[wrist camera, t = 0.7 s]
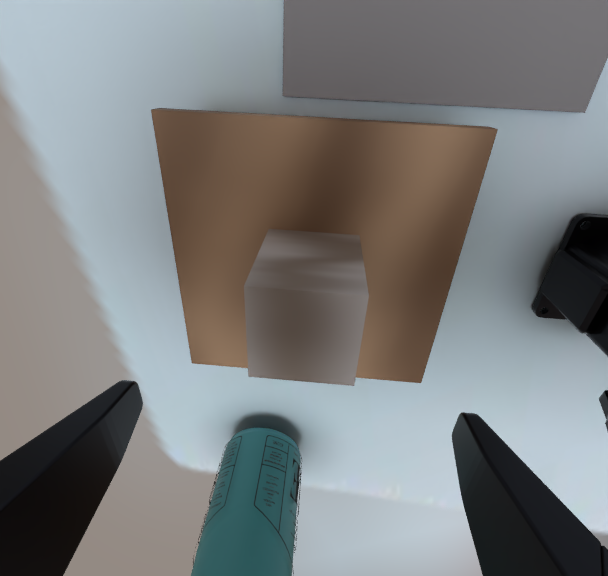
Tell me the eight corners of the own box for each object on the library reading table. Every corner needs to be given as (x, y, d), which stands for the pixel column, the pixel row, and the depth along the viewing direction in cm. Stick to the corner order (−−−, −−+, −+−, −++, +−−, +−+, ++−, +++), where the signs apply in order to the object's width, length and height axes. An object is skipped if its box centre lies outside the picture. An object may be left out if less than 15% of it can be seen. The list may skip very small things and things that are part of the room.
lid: (489, 126, 14) (579, 154, 9) (418, 372, 20) (445, 468, 15) (160, 108, 14) (65, 124, 9) (196, 353, 21) (153, 440, 16)
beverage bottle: (216, 420, 30) (59, 874, 13) (285, 401, 28) (209, 902, 11) (253, 463, 33) (164, 883, 16) (318, 449, 31) (297, 906, 14)
